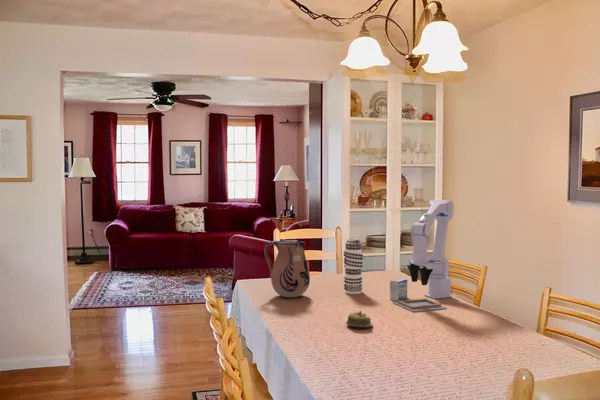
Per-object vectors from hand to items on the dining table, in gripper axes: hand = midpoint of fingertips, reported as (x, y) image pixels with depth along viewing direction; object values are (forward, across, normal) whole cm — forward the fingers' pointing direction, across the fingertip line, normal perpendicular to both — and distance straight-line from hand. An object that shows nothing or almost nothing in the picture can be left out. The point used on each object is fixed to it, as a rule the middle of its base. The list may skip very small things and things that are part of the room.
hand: (419, 283), depth 219 cm
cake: (+10, +16, -36) cm, 41 cm away
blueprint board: (+10, 0, 0) cm, 10 cm away
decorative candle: (+10, -34, -14) cm, 38 cm away
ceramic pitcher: (+10, -37, -46) cm, 60 cm away
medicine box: (+10, -14, -2) cm, 17 cm away
